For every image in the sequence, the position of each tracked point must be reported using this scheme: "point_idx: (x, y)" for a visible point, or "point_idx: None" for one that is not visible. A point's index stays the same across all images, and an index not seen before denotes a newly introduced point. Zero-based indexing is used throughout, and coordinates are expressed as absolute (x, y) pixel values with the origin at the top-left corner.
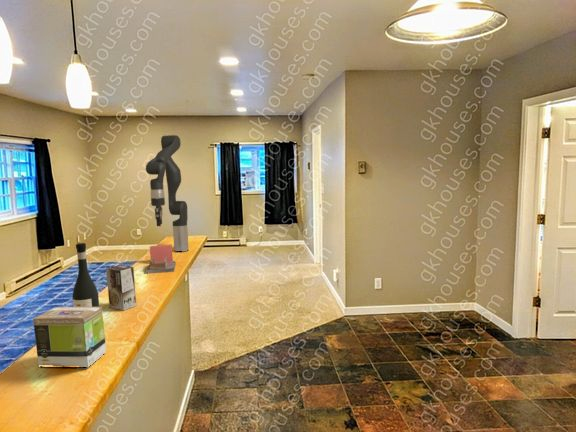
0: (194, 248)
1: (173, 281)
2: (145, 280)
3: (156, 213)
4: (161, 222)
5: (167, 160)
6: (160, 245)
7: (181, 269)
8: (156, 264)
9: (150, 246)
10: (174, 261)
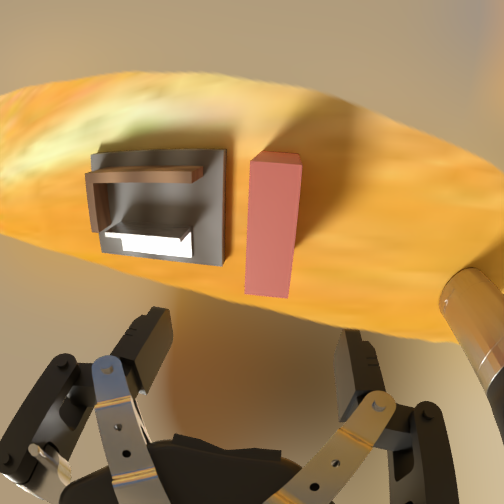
0: None
1: (31, 242)
2: (38, 167)
3: (29, 416)
4: (336, 369)
5: None
6: (285, 233)
7: (129, 273)
8: (88, 198)
9: (277, 165)
10: (216, 262)
